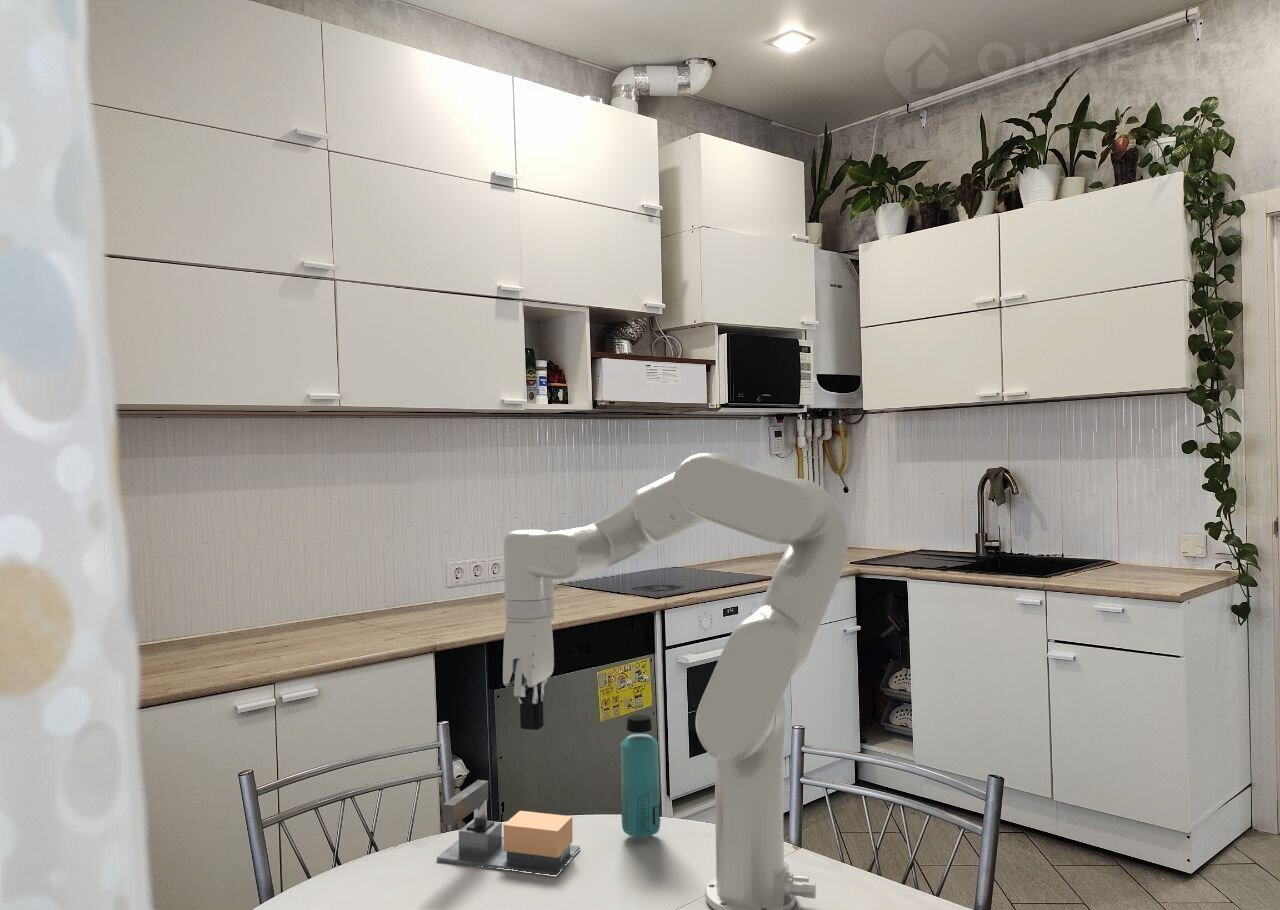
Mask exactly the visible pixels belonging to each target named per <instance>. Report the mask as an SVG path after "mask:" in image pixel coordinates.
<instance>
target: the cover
mask: <svg viewBox="0 0 1280 910" xmlns="http://www.w3.org/2000/svg"><path fill="white" fill-rule="evenodd" d="M503 837H504V851H509V852H517V853H524V854H532V855H540V856H548V857H556V858H558V857H559V856H560V855H561V854H562V853H563V852H564V851H565V850H566V849H567V847H568V846H569V845H571V844H573V815H571V816H570V815H564V814H553V813H543V812H537V811H527V810H519V811H518V812H516V813H515V814H514V815H513V816H512V817H510V819H509V820H507V822H505V823H504V824H503Z"/></svg>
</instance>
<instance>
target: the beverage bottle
mask: <svg viewBox="0 0 1280 910" xmlns="http://www.w3.org/2000/svg"><path fill="white" fill-rule="evenodd" d="M626 720H627V721H626V722H627V723H626V730H627V732H631V733H632V734H629V735H627V736H626V737H625V738H624V739H623V740H622V742H621V743H620V748H621V749H620V756H621V757H620V758H621V759H620V760H621V769H620V770H621V771H620V772H621V780H620V781H621V782H620V783H621V784H620V796H621V799H620V802H621V808H620V809H621V814H620V815H621V816H620V820H621V821H620V822H621V828H622V830H623V832H624V834H626V835H629V836H632V837H636V838H637V837H640V838H641V837H642V838H644V837H650V836H653V835H656V834H657V833H658V832H659V831H660V827H661V822H662V818H661V803H660V801H661V798H660V774H661V773H660V765H659V742H658V741H657V739H656V738H654V737H653V736H652V735H650V734H646V733H648V732H650V731H652V728H653V727H652V726H653V725H652V718H651V716H650V715H647V714H632V715H628V717H627V719H626ZM633 733H634V734H633Z"/></svg>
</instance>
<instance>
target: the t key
mask: <svg viewBox="0 0 1280 910" xmlns="http://www.w3.org/2000/svg"><path fill="white" fill-rule="evenodd" d="M488 800H489V780H482V779H477V780H476V781H474V782H473V783H472V784H470V785H469V786H467V787H466V788H464V789H463V790H462V791H460V792H459V793H457V794H456V795H454V796H453V797H450V799H448V800H446V801H445V802H444V803H443V804H442V825H444V826H452V827H454V826H455V825H457V824H458V823H459V822H461V821H462V820H463V819H465V818H466V817H467V816H469V815H470V814H472V813H473V819H474V825H476V826H483V825H486V824H487V821H488V810H487V807H488V806H487V805H488V804H487V803H488Z"/></svg>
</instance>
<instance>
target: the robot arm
mask: <svg viewBox="0 0 1280 910" xmlns="http://www.w3.org/2000/svg"><path fill="white" fill-rule="evenodd" d="M707 522H711V523H713V524H715V525H716V524H717V525H719V526H722V527H725V528H726V529H727V528H728V529H731V530H733V531H736V532H738V533H742V534H744V535H747V536H750V537H752V538H755V539H759V540H760V541H763V542H764V541H765V542H768V543H772V544H775V545H776V544H777V545H785V549H784V551H783V553H782V554H783V555H782V557H781V559H780V560H779V562H778V565H777V566H776V568H775V570H774V572H773V574H772V577H771V580H770V583H769V585H768V587H767V590H766V592H765V594H764V596H763V598H762V600H761V602H760V603H759V606H758V608H757V609H755V610H756V611H754V612H753V613H752V614H751V615H749V616H748V617H746V618H745V619H744V620H742V621H741V622H740V623H739V624H738V625H737V626H736V627H735V628H734V629H733V631H732V632H731V634H730V636H729V637H728V639H727V640H726V643H725V645H724V647H723V649H722V652H721V654H720V656H719V659H718V660H717V662H716V665H715V667H714V670H713V672H712V674H711V677H710V678H709V681H708V683H707V684H706V685H707V686H706V688H705V689H704V692H703V694H702V697H701V699H700V702H699V704H698V707H697V709H696V715H695V731H696V735H697V737H698V741H699V742H700V744H701V746H702V747H703V749H704V750H705V751H706V752H707V753H708V754H709V755H710V756H712V757H714V758H715V764H714V765H715V768H714V770H715V771H714V772H715V774H714V775H715V777H714V778H715V781H714V782H715V783H714V784H715V786H714V789H715V790H714V793H715V795H714V799H715V801H714V803H715V804H714V806H715V807H714V808H715V815H714V817H715V822H714V823H715V877H714V878H713V879H711V880H710V881H709V882H708V883H707V884H706V886H705V888H704V889H705V895H704V896H705V901H706V902H707V904H708V905H709V906H710V907H711V908H712V909H713V910H792V909H793V908H794V906H795V905H796V896H797V897H802V898H806V899H813V900H815V899H816V896H817V884H816V883H814V882H810V876H805V875H793V873H792V872H789V862H787V861H786V862H785V855H784V854H785V853H784V851H785V850H784V846H785V845H784V844H785V843H784V752H785V751H784V750H785V736H786V724H787V722H786V721H787V710H786V703H785V699H784V695H785V693H786V691H787V689H788V687H789V684H790V682H791V680H792V678H793V677H794V675H795V674H796V673H797V672H798V671H799V670H800V669H801V668H802V667H803V666H804V664H805V663H806V661H807V660H808V657H809V654H810V652H811V648H812V646H813V644H814V640H815V637H816V636H817V633H818V632H819V631H818V630H819V628H820V626H821V624H822V621H823V619H824V617H825V615H826V613H827V611H828V607H829V605H830V602H831V599H832V597H833V596H834V592H835V590H836V588H837V586H838V583H839V581H840V578H841V575H842V572H843V570H844V567H845V563H846V559H847V554H848V532H847V530H848V529H847V527H846V526H847V525H846V522H845V518H844V516H843V514H842V511H841V509H840V507H839V506H838V504H837V503H836V501H835V500H834V498H833V497H832V496H831V495H830V494H829V493H828V491H826V489H824V488H823V487H821V486H820V485H819V484H817V483H816V482H814V481H812V480H809V479H807V478H806V479H805V478H800V477H799V478H796V477H795V478H794V477H793V478H785V479H784V478H780V477H778V476H777V477H776V476H774V475H769V474H766V473H763V472H760V471H757V470H753V469H750V468H749V467H748V468H747V467H744V466H743V464H742V463H741V462H740V461H739V460H738V459H736V458H735V457H733V456H731V455H729V454H725V453H720V452H719V453H718V452H717V453H715V452H713V453H712V452H702V453H696V454H694V455H691V456H689V457H687V458H686V459H684V460H683V461H682V462H681V463H680V464H679V466H678V467H677V468H676V469H675V472H672V473H671V474H668V475H667V476H664V477H663V478H660V479H658V480H656V481H654V482H652V483H650V484H648V485H646V486H644V487H641V488H639V489H638V490H637V491H635V492H634V493H633V495H632V496H631V500H630V502H629V503H628V504H627V505H625V506H624V507H622V508H621V509H619V510H618V511H616V512H614V513H611V514H610V515H608V516H606V517H604V518H602V519H600V520H597V521H596V522H593V523H591V524H589V525H586V526H581V527H580V526H579V527H573V528H569V529H568V528H567V529H563V530H557V531H551V532H549V531H547V530H542V529H518V530H512V531H510V532H508V533H506V535H505V537H504V539H503V555H504V557H503V558H504V559H503V562H504V563H503V565H504V566H503V567H504V607H505V612H504V613H505V621H506V623H505V624H506V625H505V629H504V630H505V631H504V637H503V653H502V654H503V657H502V683H503V685H504V686H505V687H510V686H513V696H514V697H516V698H518V703H519V710H520V711H519V712H520V713H519V716H520V718H519V721H520V729H523V730H534V731H536V730H537V731H540V729H541V728H543V727H544V725H545V724H544V699H545V698H544V697H545V685H546V684H547V682H548V678H550V677H551V676H552V675H553V672H554V669H555V668H554V667H555V651H554V638H553V637H554V636H553V635H554V633H553V626H552V625H553V624H552V620H553V619H554V618H555V606H554V605H555V604H554V602H555V601H554V580H557V581H569V580H574V579H578V578H581V577H585V576H589V575H593V574H597V573H599V572H601V571H603V570H606V569H609V568H610V567H612V566H614V565H617V564H620V563H621V562H623V561H626V560H627V559H631V558H632V557H634V556H636V555H638V554H640V553H642V552H644V551H647V550H648V549H650V548H653V547H657V546H659V545H660V544H662V543H664V542H666V541H668V540H671V539H673V538H674V537H677V536H679V535H681V534H683V533H685V532H688V531H690V530H692V529H693V528H695V527H698V526H700V525H703V524H704V523H707Z"/></svg>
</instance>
